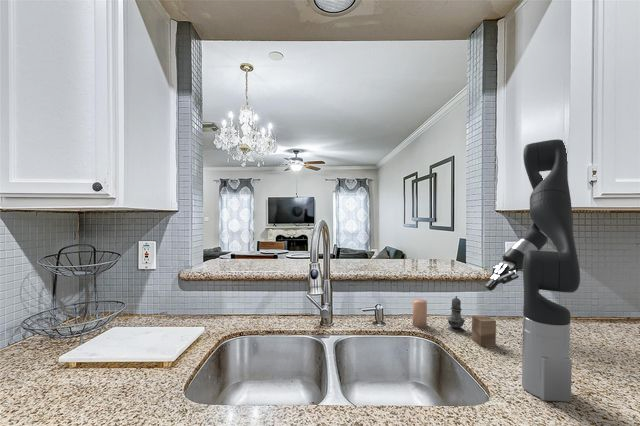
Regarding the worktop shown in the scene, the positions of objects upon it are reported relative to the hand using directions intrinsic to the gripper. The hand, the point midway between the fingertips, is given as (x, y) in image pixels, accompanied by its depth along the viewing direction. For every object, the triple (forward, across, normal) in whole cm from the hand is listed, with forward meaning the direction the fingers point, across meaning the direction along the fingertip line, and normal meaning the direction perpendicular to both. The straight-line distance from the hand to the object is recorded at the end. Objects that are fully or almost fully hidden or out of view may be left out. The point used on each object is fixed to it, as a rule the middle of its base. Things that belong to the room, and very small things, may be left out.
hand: (487, 288), depth 117 cm
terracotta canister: (+26, -5, -6) cm, 28 cm away
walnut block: (+16, +12, +4) cm, 21 cm away
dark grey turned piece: (+19, 0, +2) cm, 19 cm away
